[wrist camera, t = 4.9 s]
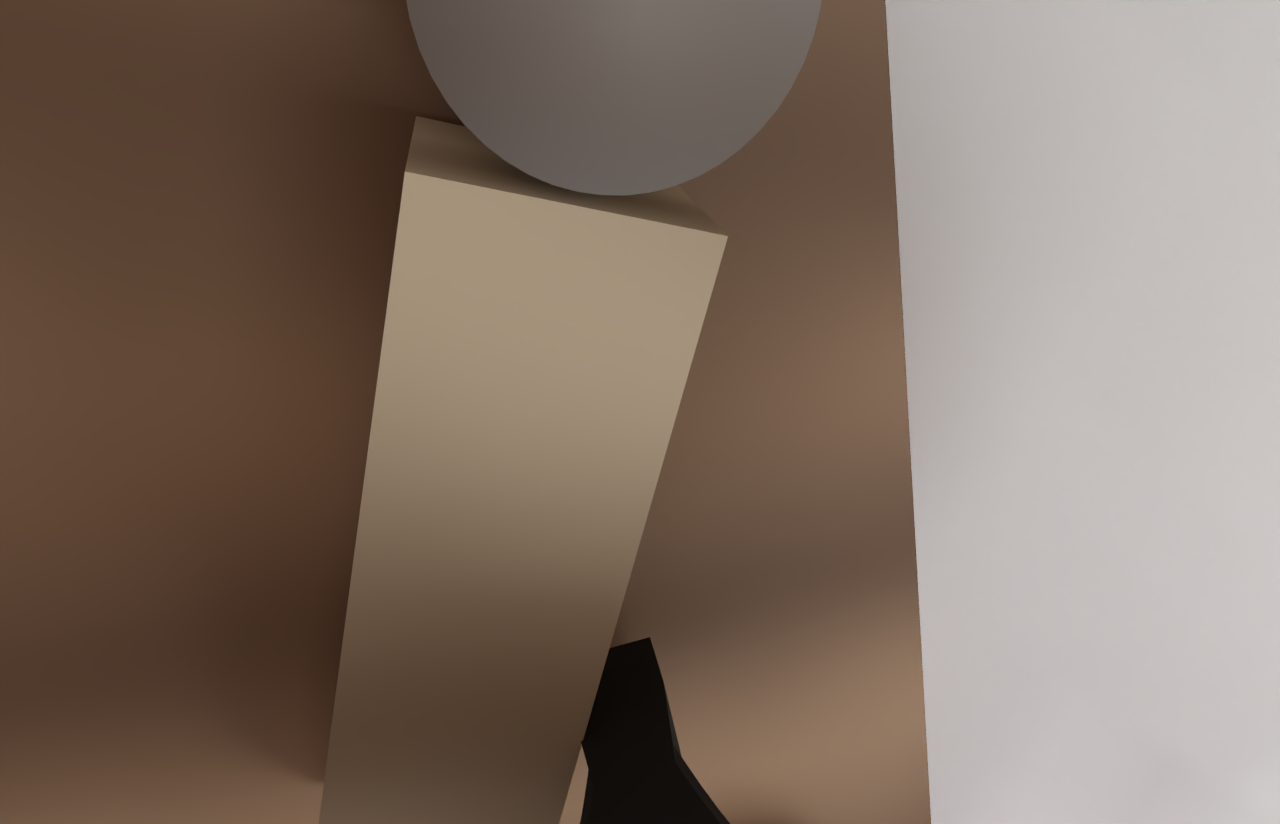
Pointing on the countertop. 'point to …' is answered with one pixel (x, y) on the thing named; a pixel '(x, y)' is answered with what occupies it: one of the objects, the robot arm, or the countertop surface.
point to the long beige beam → (532, 382)
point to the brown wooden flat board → (343, 408)
